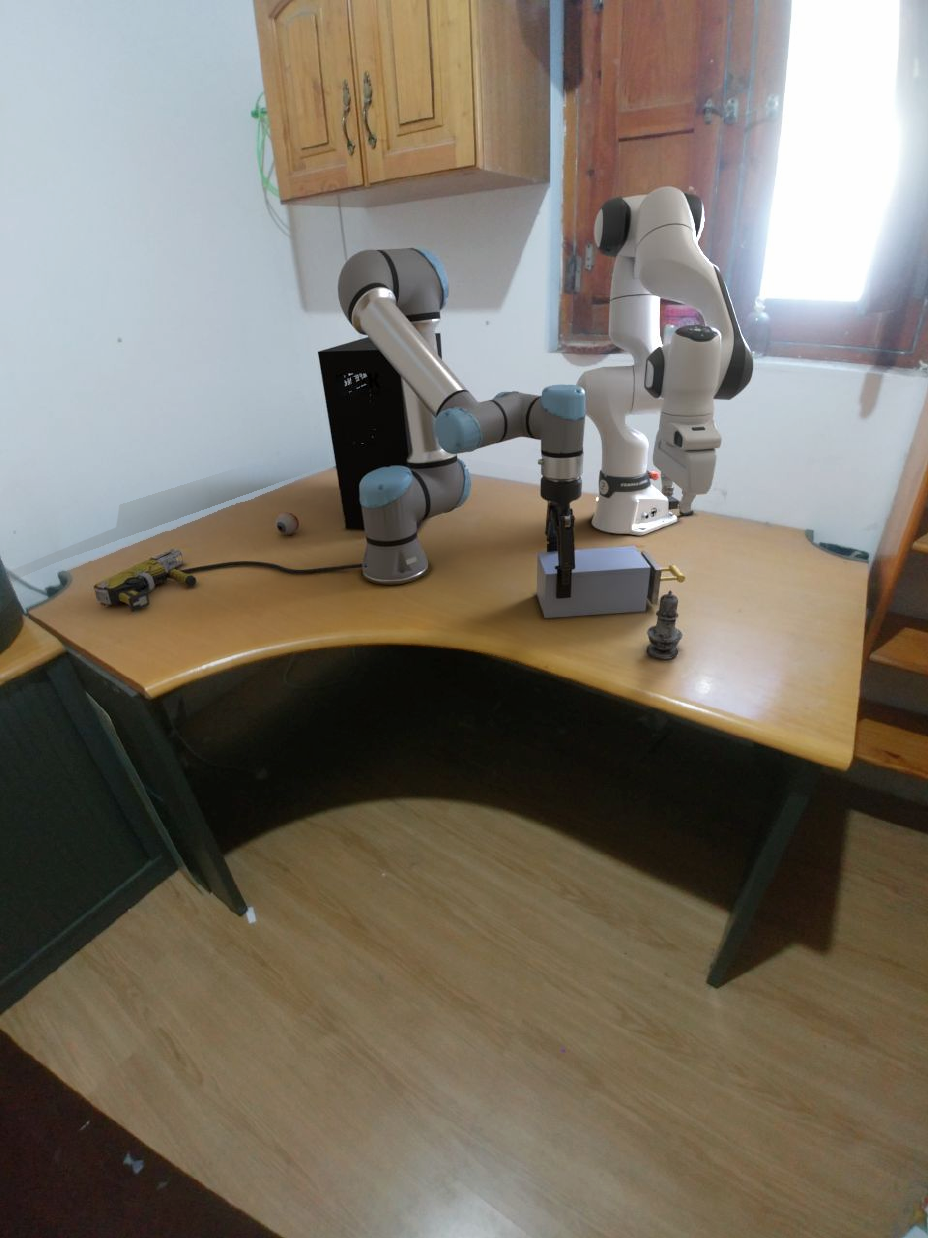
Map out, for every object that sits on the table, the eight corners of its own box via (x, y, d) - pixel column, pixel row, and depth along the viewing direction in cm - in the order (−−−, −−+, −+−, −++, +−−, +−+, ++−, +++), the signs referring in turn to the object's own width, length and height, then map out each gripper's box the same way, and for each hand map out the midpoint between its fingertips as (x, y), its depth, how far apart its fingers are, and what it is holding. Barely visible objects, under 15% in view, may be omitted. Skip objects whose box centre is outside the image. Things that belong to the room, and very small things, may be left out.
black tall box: (415, 531, 162) (398, 349, 139) (345, 528, 166) (317, 351, 144) (450, 487, 193) (440, 332, 171) (390, 485, 198) (373, 335, 175)
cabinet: (630, 587, 128) (634, 545, 123) (645, 611, 119) (650, 567, 114) (536, 594, 128) (537, 552, 123) (544, 618, 119) (545, 574, 114)
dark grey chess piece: (681, 660, 104) (691, 599, 98) (646, 658, 105) (653, 597, 99) (678, 642, 108) (687, 583, 102) (644, 640, 110) (651, 581, 104)
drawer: (669, 582, 127) (674, 548, 123) (685, 602, 119) (691, 567, 116) (554, 590, 127) (555, 556, 123) (563, 611, 119) (564, 576, 115)
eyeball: (273, 537, 164) (268, 516, 161) (287, 528, 169) (282, 508, 166) (291, 539, 161) (286, 518, 158) (305, 530, 166) (301, 510, 163)
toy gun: (219, 557, 146) (169, 546, 150) (142, 598, 126) (87, 585, 129) (222, 574, 148) (172, 563, 152) (147, 618, 128) (92, 604, 132)
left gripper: (531, 460, 120) (531, 561, 131) (552, 497, 100) (549, 613, 111) (569, 458, 120) (565, 559, 131) (596, 494, 100) (589, 610, 111)
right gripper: (648, 416, 116) (641, 487, 123) (688, 442, 98) (677, 523, 105) (681, 414, 116) (672, 485, 123) (726, 440, 98) (713, 520, 105)
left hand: (558, 584), depth 121 cm, fingers closed on cabinet, 10 cm apart
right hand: (675, 502), depth 114 cm, fingers open, 8 cm apart
